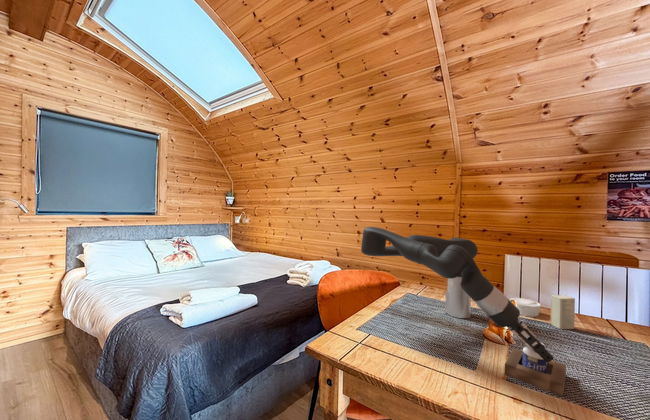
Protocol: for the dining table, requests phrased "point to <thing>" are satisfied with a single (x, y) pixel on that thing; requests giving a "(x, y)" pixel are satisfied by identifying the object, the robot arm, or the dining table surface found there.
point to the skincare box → (562, 311)
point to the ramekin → (527, 307)
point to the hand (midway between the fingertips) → (541, 351)
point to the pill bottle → (533, 359)
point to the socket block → (537, 373)
